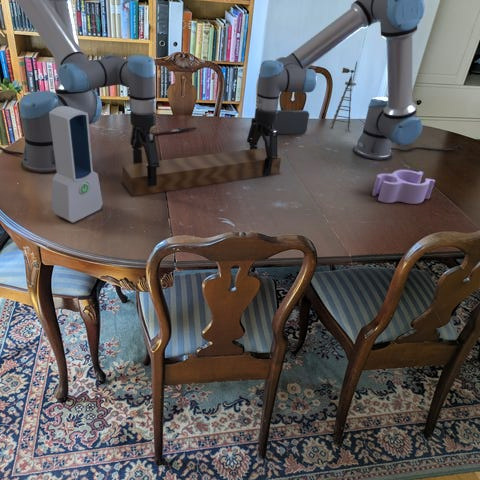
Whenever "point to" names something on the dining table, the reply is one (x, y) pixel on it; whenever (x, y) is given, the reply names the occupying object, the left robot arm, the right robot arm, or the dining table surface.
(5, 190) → the dining table surface
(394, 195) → the clip
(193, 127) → the sword
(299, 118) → the handheld gaming console
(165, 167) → the slab
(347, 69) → the miniature windmill
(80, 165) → the electronic device
